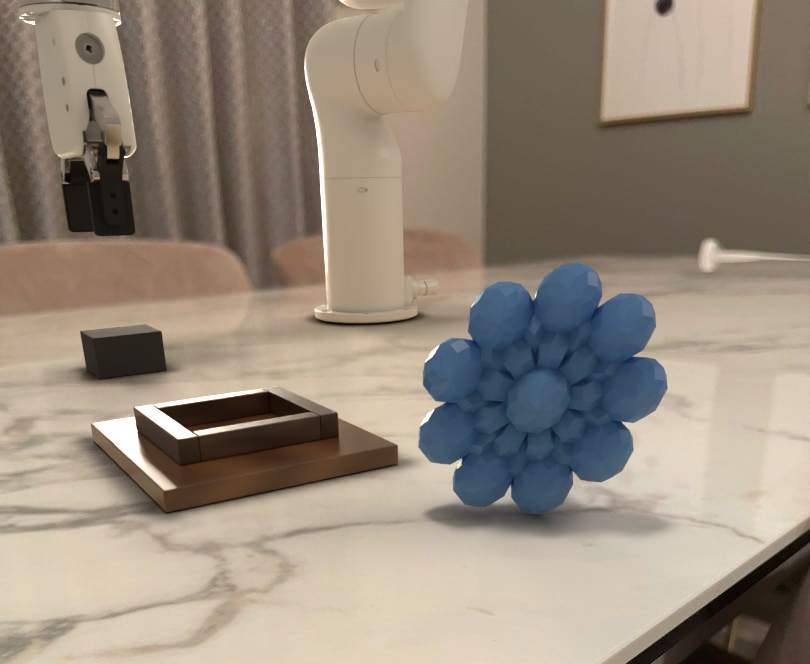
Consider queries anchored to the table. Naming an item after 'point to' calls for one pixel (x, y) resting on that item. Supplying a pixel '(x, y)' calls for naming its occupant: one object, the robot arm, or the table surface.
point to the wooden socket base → (236, 446)
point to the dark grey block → (123, 351)
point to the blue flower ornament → (541, 390)
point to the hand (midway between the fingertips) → (100, 233)
